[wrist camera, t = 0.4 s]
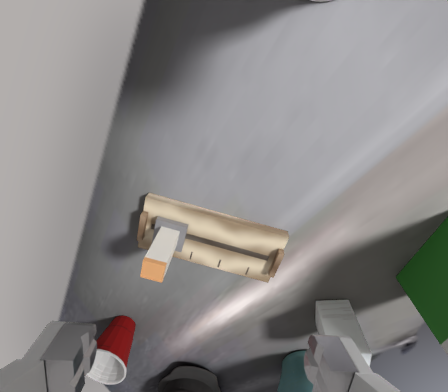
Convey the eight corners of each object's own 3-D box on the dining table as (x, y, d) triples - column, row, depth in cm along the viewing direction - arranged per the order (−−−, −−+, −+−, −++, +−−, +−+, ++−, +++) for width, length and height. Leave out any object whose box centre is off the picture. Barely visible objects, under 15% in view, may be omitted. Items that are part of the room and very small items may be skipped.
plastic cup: (130, 303, 67) (107, 349, 56) (152, 332, 71) (135, 380, 60) (95, 312, 69) (66, 358, 59) (118, 340, 73) (95, 387, 63)
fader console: (149, 192, 53) (142, 201, 49) (287, 231, 54) (290, 242, 51) (141, 241, 58) (134, 251, 55) (267, 275, 59) (268, 288, 56)
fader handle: (158, 216, 52) (136, 252, 42) (188, 224, 52) (174, 262, 42) (153, 240, 55) (132, 280, 45) (182, 248, 55) (167, 289, 45)
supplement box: (314, 322, 64) (328, 378, 53) (315, 299, 61) (329, 353, 50) (347, 322, 63) (368, 379, 52) (349, 298, 60) (372, 353, 49)
